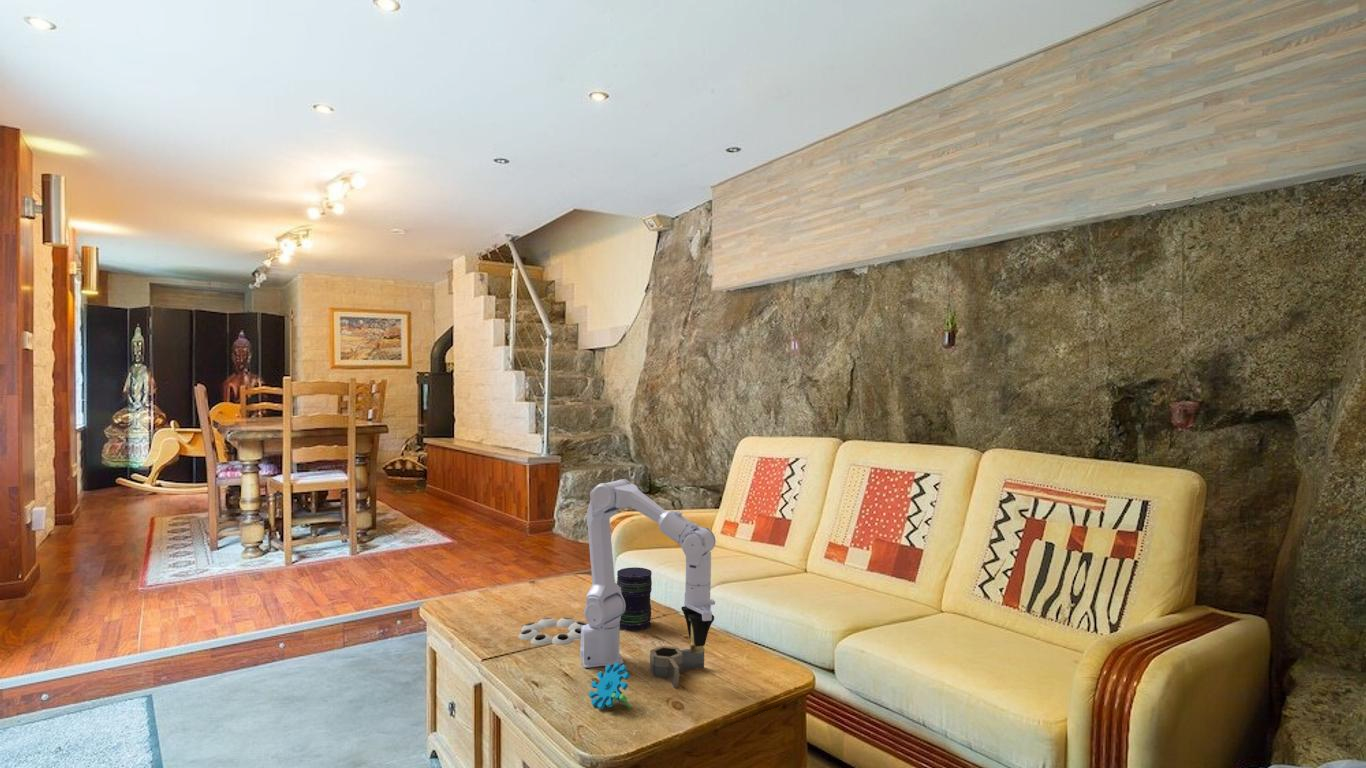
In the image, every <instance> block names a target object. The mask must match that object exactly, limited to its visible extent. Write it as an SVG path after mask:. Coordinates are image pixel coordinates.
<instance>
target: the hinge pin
mask: <svg viewBox="0 0 1366 768" xmlns="http://www.w3.org/2000/svg"><path fill="white" fill-rule="evenodd" d="M692 614H697V613H692ZM690 615H691V614H690ZM689 620H690V619H689ZM704 646H705V645H704ZM704 646H695V643H694V636H693V628H692V624H691V639H690V647H689V649H690V651H691V652H692V653H696V654H699V653H703V651H704V652H705V647H704Z"/></svg>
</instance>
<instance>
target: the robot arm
mask: <svg viewBox="0 0 1366 768" xmlns="http://www.w3.org/2000/svg"><path fill="white" fill-rule="evenodd" d="M589 500H590V501H589V504H588V508H587V510H586V521H587V522H586V523H587V533H588V534H587V536H588V544H589V545H588V546H589V560H590V569H591V582H592V583H591V584H592V585H591V587H590V589H589V591H588V593H587V594H586V596H585V600H586V602H585V606H584V610H583V612H584V618H585V621H586V622H587V623H586V624H587V625H583V626H581V631H580V634H581V639H580V650H579V651H580V652H579V653H580V654H579V656H580V660H581V662H582V665H583V667H584V668H586V669H588V668H597V667H606V666H607V665H611V666H614V663H615V662H617V663H619V664H620V665H623V664H624V660H623V659H622V656H621V654H620V638H621V637H620V634H621V632H620V630H621V629H620V620H621V615H622V614H623V613H624V611H625V608H626V604H625V600H624V598H623V596H622V593H621V587H620V586H619V585H617V582H616V579H615V571H614V558H613V556H614V555H613V546H612V545H613V544H612V533H611V532H612V531H611V522H610V521H611V518H612V517H613V515H614V514H615V513H616V512H617V511H618V510H619V509H622V508H623V509H625V508H632V509H634V510H636V511H637V512H639V513H640V514H642V515H643V516H645V517H647V518H648V519H650V520H652V521H653V522H655V523H657V524H658V525H657V526H658V529H659V531H660V532H661V533H662V534H663V535H665V536H666V537H669V539H671V540H673V541H674V542H675V543H677V544H678V545H680V547H681V549H682V551H683V553H684V555H685V592H684V605H683V606H682V607H681V611H682V613H683V616H684V619H685V621H686V626H687V633H688V637H689V639H690V640H691V624H692V628H693V636H694V643H695V646H705V645H706V642H707V639H708V634H709V630H710V628H711V626H712V624H713V622H714V620H715V616H714V614H713V612H712V610H711V609H712V606H715V605H716V601H715V600H714V599H712V598H711V586H712V585H711V583H712V581H711V578H712V575H711V574H712V551H713V550H714V548H715V546H716V543H717V542H716V541H717V540H716V536H715V534H714V532H713V531H712V529H711V530H710V528H709V527H707V526H699V525H698V524H697V523H696V522H692V521H690V520H689V519H687V518H686V517H684V516H683V512H681V511H680V510H674V509H672V510H668V511H667V510H665V509H664V508H663V507H661V506H660V505H659V504H658V503H656V502H655V501H654V500H652V499H651V498H650V497H648V496H647V495H646V494H644V493H643V491H640V489H639V487H638V486H637V485H636V484H634V483H631V482H630V481H629V480H628V479H625V478H621V479H617V480H613V481H609V482H602V483H599V484H597V485H596V486H595V487H594V488H593V489H592V490H590V492H589ZM692 613H697V614H692ZM690 614H691V615H690ZM689 619H690V620H689Z"/></svg>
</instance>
